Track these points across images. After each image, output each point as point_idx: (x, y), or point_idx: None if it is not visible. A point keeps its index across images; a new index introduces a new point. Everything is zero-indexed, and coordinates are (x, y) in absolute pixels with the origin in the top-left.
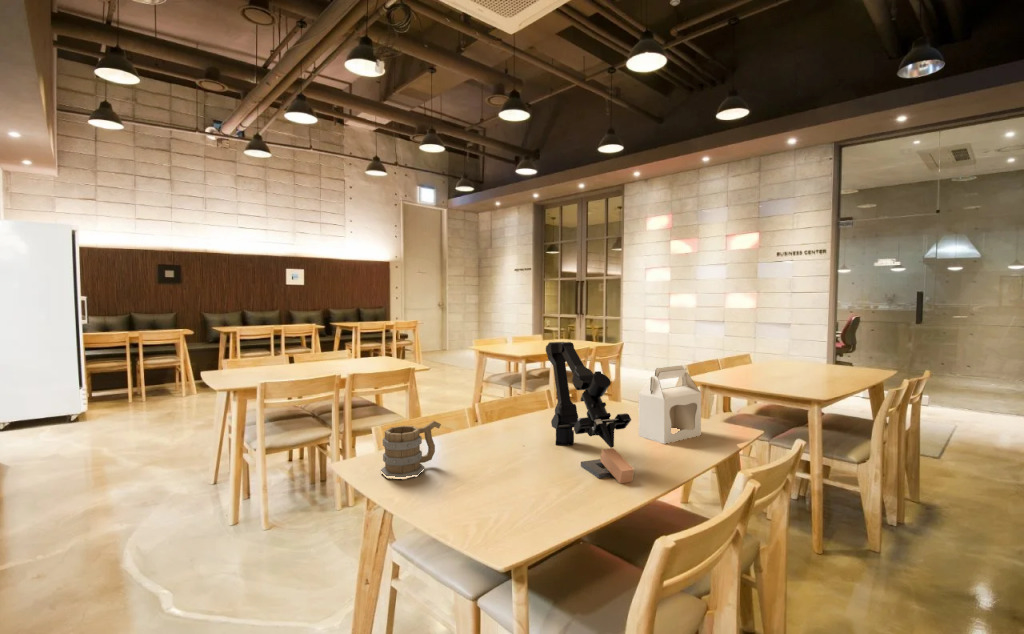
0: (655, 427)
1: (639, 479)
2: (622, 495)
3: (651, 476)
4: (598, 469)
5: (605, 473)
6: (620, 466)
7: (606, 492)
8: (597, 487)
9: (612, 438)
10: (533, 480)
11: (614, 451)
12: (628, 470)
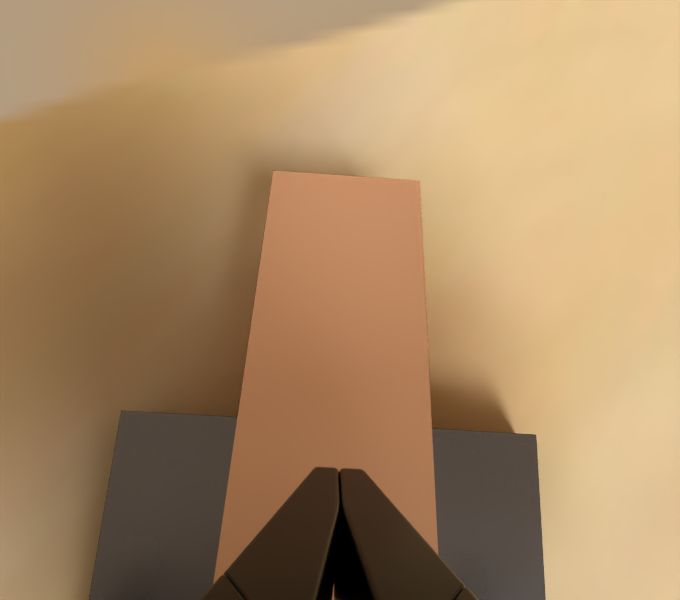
0: None
1: (181, 276)
2: (507, 93)
3: (28, 289)
4: (477, 561)
5: (457, 431)
6: (390, 238)
7: (594, 175)
8: (620, 279)
9: (305, 530)
10: None
11: None
12: (342, 175)
